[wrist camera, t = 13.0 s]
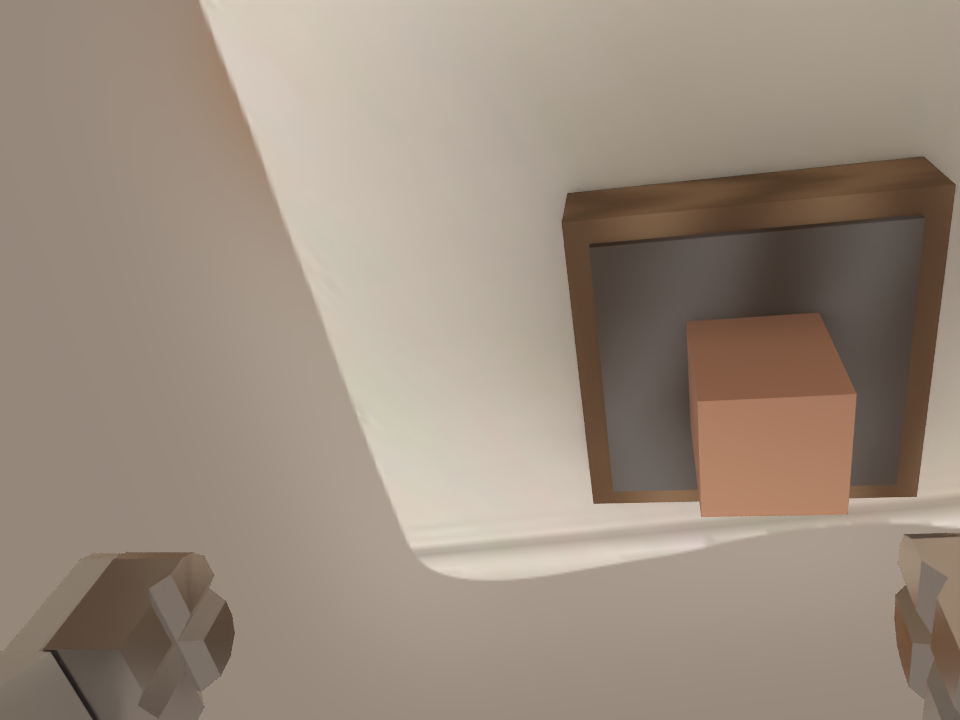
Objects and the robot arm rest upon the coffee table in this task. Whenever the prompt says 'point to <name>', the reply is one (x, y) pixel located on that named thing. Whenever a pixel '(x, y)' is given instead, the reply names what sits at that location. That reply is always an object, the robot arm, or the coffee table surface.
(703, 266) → the walnut plinth
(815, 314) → the terracotta block
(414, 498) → the coffee table surface
